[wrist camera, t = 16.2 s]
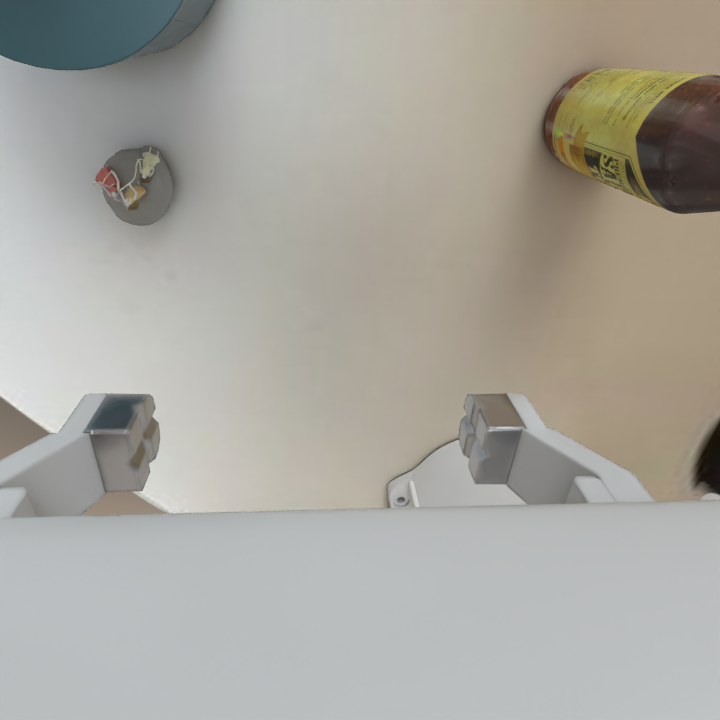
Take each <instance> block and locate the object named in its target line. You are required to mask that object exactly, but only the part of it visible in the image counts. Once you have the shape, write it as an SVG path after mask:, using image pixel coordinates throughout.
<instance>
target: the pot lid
mask: <svg viewBox="0 0 720 720" xmlns="http://www.w3.org/2000/svg"><path fill="white" fill-rule="evenodd" d="M185 1H186V0H0V55H1V56H4V57H6V58H9V59H11V60H14V61H17V62H21V63H24V64H28V65H32V66H35V67H41V68H48V69H55V70H87V69H93V68H100V67H105V66H108V65H112V64H115V63H118V62H121V61H123V60H125V59H127V58H129V57H131V56H133V55H135V54H137V53H139V52H141V51H142V50H143V49H145V48H146V47H147V46H149V45H150V44H151V43H153V42H154V41H155V40H156V39H157V38H158V37H159V36H160V35H161V34H162V33H163V32H164V31H165V30H166V29H167V28H168V27H169V26H170V25H171V23H172V22H173V20H174V19H175V17H176V16H177V14H178V13H179V12H180V10H181V9H182V7H183V5H184V3H185Z"/></svg>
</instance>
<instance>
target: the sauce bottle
mask: <svg viewBox="0 0 720 720" xmlns="http://www.w3.org/2000/svg"><path fill="white" fill-rule="evenodd" d="M545 137H546V141H547V144H548V146H549V148H550V150H551V151H552V152H553V154H554V155H555V156H556V157H557V159H558V160H561V162H562V163H564V164H565V165H566V166H567V167H569V168H571V169H573V170H575V171H577V172H580V173H582V174H584V175H586V176H589V177H591V178H594V179H596V180H598V181H600V182H603V183H604V184H607V185H609V186H612V187H614V188H617V189H619V190H621V191H623V192H626V193H628V194H631V195H633V196H636V197H638V198H640V199H643V200H645V201H647V202H650V203H652V204H654V205H656V206H659V207H662V208H664V209H666V210H669V211H671V212H674V213H679V214H688V213H703V212H716V211H720V75H711V74H698V73H684V72H669V71H657V70H642V69H627V68H605V69H600V70H591V71H589V72H586V73H584V74H581V75H578V76H576V77H574V78H573V79H571V80H570V81H568V83H567V84H566V85H564V86H563V87H562V88H561V90H560V91H559V93H558V94H557V95H556V96H555V97H554V99H553V102H552V104H551V105H550V107H549V110H548V113H547V116H546V121H545Z"/></svg>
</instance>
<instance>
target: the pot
mask: <svg viewBox="0 0 720 720" xmlns="http://www.w3.org/2000/svg"><path fill="white" fill-rule="evenodd" d="M213 2H214V0H186V1H185V3H184V5H183V7H182V9H181V10H180V12H179V13H178V14H177V16H176V17H175V19H174V20H173V22H172V23H171V25H170V26H169V27H168V28H167V29H166V30H165V31H164V32H163V33H162V34H161V35H160V36H159V37H158V38H157V39H156V40H155V41H154V42H153V43H151V44H150V45H149V46H147V47H146V48H145V49H143V50H142V51H141V52H139V53H137V54H135V55H133V56H131V57H136V56H144V55H148V54H151V53H156V52H159V51H162V50H165V49H168V48H171V47H172V46H175V45H176V44H177V43H179V42H181V41H182V40H183V39H185V38H186V37H187V36H189V35H190V34H191V33H192V32H193V31H194V30H195V29H196V28H197V27H198V26H199V25H200V23H201V22H202V21H203V19H204V18H205V16H206V15H207V14H208V12H209V10H210V8H211V6H212V4H213Z"/></svg>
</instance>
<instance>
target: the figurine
mask: <svg viewBox="0 0 720 720" xmlns="http://www.w3.org/2000/svg"><path fill="white" fill-rule="evenodd" d="M96 181H97V183H99V184H100V186H101V187H102V188H103V194H104V197H105V199H106V201H107V203H108V204H109V206H110V207H111V208H112V210H113V211H114V212H115V214H116V215H117V217H119V218H120V219H122V220H123V221H125V222H127V223H130V224H133V225H139V226H145V225H150V224H153V223H155V222H157V221H158V220H159V219H161V218H162V217H163V216H164V214H165V213H166V211H167V209H168V207H169V205H170V202H171V198H172V194H173V188H174V186H173V180H172V177H171V174H170V171H169V169H168V167H167V165H166V163H165V161H164V159H163V157H162V155H161V154H160V153H159V150H158V151H157V150H156V149H155V148H153V147H150V146H145V147H144V148H143V149H142V150H141V149H133V150H121V151H119V152H118V153H116V154H115V155H114V156H112V157H111V158H109V159H108V160H107V161H106V163H105V165H104V167H103V168H101V170H100V171H99V173H98V174H97V176H96ZM94 184H96V183H94Z"/></svg>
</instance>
